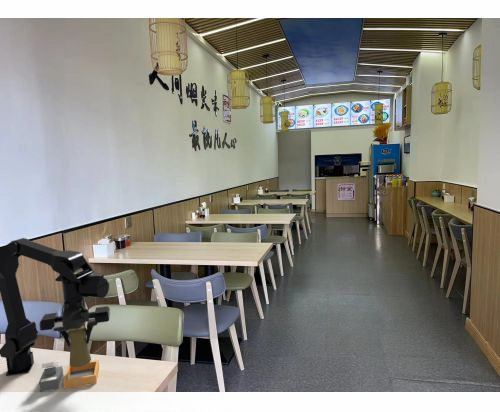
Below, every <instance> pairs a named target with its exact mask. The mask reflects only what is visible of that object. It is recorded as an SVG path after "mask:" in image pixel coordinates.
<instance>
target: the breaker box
mask: <svg viewBox="0 0 500 412" xmlns="http://www.w3.org/2000/svg"><path fill="white" fill-rule="evenodd" d="M63 377H64V369H63V366H55V367H49V368H44V370H43V372H42V374H41V376H40V378H39V381H38V386H39V392H41V393H42V392H45V391H51V390H57V389H60V387H61V383H62V380H63Z"/></svg>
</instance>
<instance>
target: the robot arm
mask: <svg viewBox="0 0 500 412" xmlns="http://www.w3.org/2000/svg"><path fill="white" fill-rule="evenodd" d="M22 256H23V257H25V258H28V259H31V260H35V261H37V262H40V263H42V264H45V265H48V266H49V267H50V268H51V270H52V271H53V272H56V273H57V274H59V275H58V276H57V277H56V278H55V281H56V282H59V283H60V282H61V284H62V286H61V287H62V297H63V311H62V315H59V313H58V312H53V313H45V314H44V315H43V316H42V317H41V320H40V321H39V324H38V325H39V331H48V330H53V332H58V333H59V334H61V336H62V338H63V339H64V340H65V342H66V344H67V346H68V347H69V348H70V345H71V340H70V339H69V336H68V332H69V330H70V329H79V328H81V327H82V326H83V324H85V323H86V329H87V335H86V340H87V344H89V343H90V339H91V334H92V331H93V328H94V327H95V326H98V324H99V323H105V322H109V321H110V318H111V308H110V307H109V306H107V305H105V306H98V307H95V311H90V312H89V309H88V308H87V305H86V298H95V299H104V298H105V297H106V296H108V294H109V290H110V283H109V281H108V279H106V278H105V275H104V273H97V274H96V273H95V271H94V269H93V267H92V266H91V265H90V263H88V261H87V260H86V258H85V257H84V254H83V253H82V252H80V251H75V250H74V251H73V250H58V249H55V248H52V247H49V246H46V245H43V244H40V243H37V242H34V241H32V240H29V239H28V238H25V237H22V238H18V239H14V240H11V241H10V242H9V243H7V244H6V245H3V247H2V246H1V247H0V298H1V301H2V305H3V309H4V313H5V317H6V321H7V326H6V329H5V332H4V341H5V343H4V344H3V345H2V346H1V348H0V357H1V358H5V361H6V367H7V372H6V373H5V376H6V377H9V376H14V375H15V376H16V375H20V374H26V373H29V372H30V371H31V369H32V367H33V365H34V364H35V360H34V359H35V358H34V352H33V351H32V350H31V347H34V346H35V345H36V341H37V339H38V334H39V331H38V330H37V325H36V322H35V321H31V320H29V318H27V316H26V312H25V308H24V304H23V300H22V295H21V292H20V287H19V283H18V279H17V275H16V274H17V271H18V268H19V265H20V262H19V258H20V257H22ZM94 273H95V274H94Z"/></svg>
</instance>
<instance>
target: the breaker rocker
mask: <svg viewBox="0 0 500 412" xmlns="http://www.w3.org/2000/svg"><path fill="white" fill-rule="evenodd" d="M52 367H59V362H56V361H54V362H53V361H51V362H45V363H42V364H41V369H43V368H44V369H46V368H52Z"/></svg>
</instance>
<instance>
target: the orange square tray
mask: <svg viewBox="0 0 500 412" xmlns="http://www.w3.org/2000/svg"><path fill="white" fill-rule="evenodd" d="M99 370H100V362H99V360H91V361H90V362H89V363H88V364H86V365H84V366H81V367H71V366H70V364H68V366H67V369H66V372H65V375H64V378H63V388H64V390H66V389H72V388H77V387H83V386H89V385H93V384H97V382H98V378H99V373H100V371H99Z"/></svg>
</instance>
